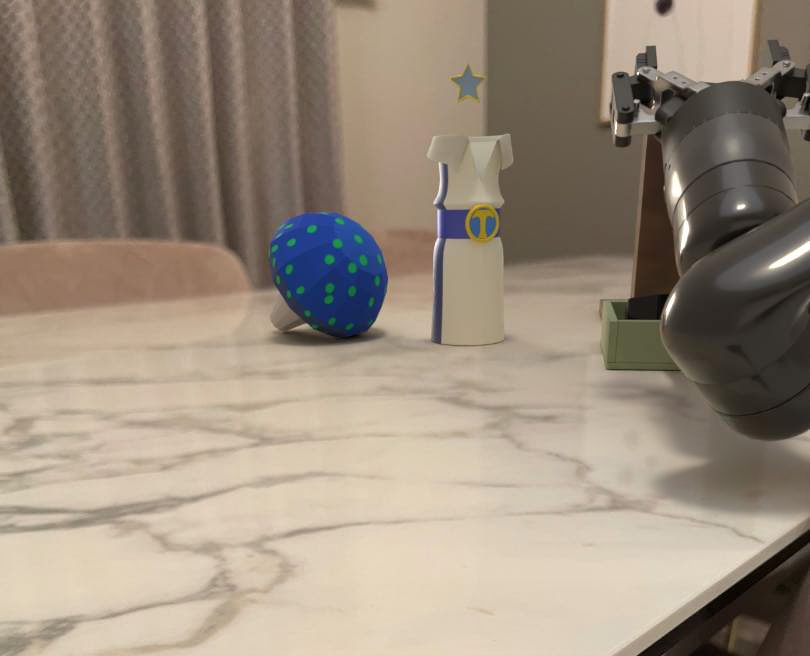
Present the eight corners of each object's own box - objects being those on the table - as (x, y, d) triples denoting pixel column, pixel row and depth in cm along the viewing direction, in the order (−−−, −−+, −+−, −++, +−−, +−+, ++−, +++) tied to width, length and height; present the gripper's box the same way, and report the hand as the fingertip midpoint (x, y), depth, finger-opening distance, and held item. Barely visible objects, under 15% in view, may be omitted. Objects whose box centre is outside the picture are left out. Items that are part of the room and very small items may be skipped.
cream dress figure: (524, 341, 86) (534, 62, 77) (447, 348, 84) (446, 60, 74) (491, 330, 93) (496, 73, 84) (418, 335, 91) (414, 72, 81)
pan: (708, 344, 80) (710, 308, 79) (749, 317, 63) (752, 271, 63) (621, 343, 81) (623, 308, 81) (638, 316, 64) (641, 272, 64)
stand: (699, 311, 103) (724, 89, 94) (710, 321, 96) (738, 82, 86) (599, 311, 105) (613, 94, 96) (601, 321, 98) (617, 86, 88)
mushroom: (264, 253, 99) (347, 168, 91) (343, 347, 103) (430, 273, 94) (202, 293, 89) (290, 200, 80) (293, 396, 92) (386, 318, 83)
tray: (718, 343, 83) (723, 300, 82) (744, 371, 71) (751, 321, 70) (600, 342, 85) (603, 300, 84) (606, 369, 73) (609, 320, 72)
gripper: (867, 110, 49) (824, -6, 59) (616, 119, 52) (614, 6, 61) (829, 225, 55) (795, 102, 65) (606, 229, 58) (605, 110, 67)
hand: (707, 56), depth 63 cm, fingers open, 8 cm apart
